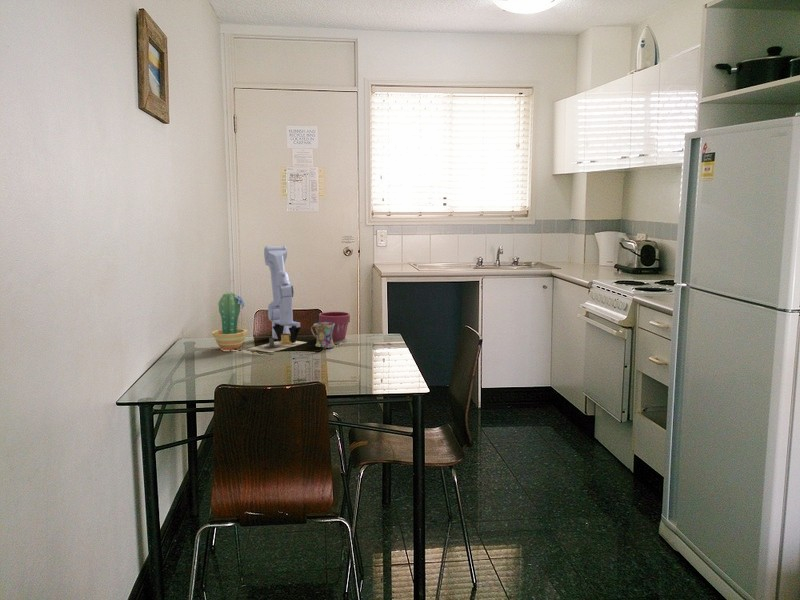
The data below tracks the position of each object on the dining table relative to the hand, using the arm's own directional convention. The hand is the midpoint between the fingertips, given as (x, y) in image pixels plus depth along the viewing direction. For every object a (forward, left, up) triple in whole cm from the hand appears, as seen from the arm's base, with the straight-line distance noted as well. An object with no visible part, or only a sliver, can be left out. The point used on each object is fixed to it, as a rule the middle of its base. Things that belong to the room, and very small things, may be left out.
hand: (287, 341), depth 305 cm
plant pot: (-20, +12, -2) cm, 23 cm away
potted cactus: (+18, -17, -2) cm, 25 cm away
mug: (-5, +16, -2) cm, 17 cm away
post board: (+6, 0, -2) cm, 6 cm away
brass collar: (0, 0, -1) cm, 1 cm away
